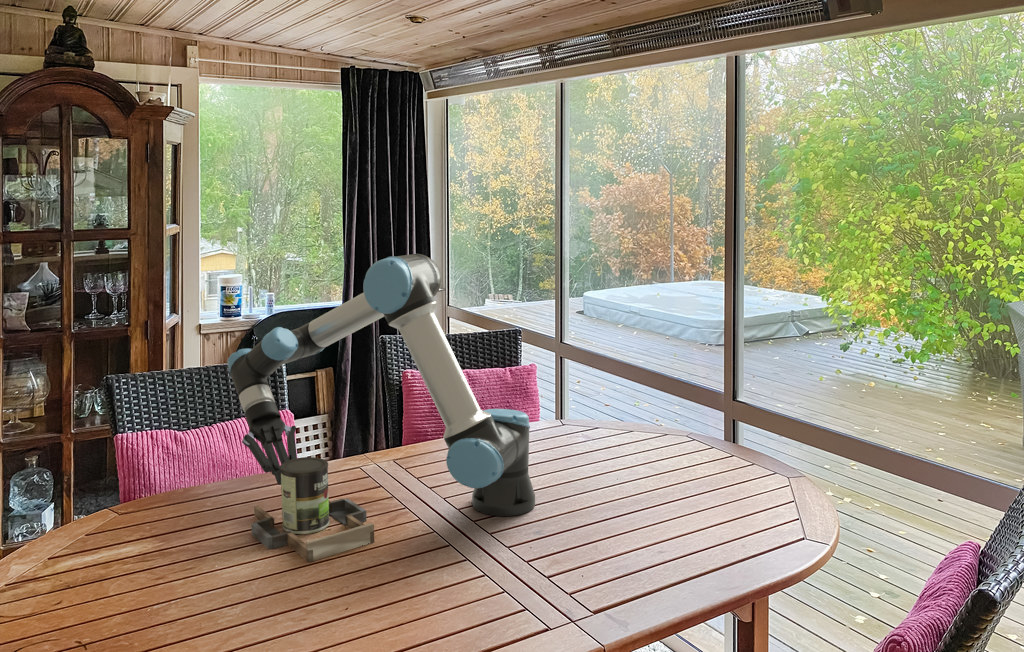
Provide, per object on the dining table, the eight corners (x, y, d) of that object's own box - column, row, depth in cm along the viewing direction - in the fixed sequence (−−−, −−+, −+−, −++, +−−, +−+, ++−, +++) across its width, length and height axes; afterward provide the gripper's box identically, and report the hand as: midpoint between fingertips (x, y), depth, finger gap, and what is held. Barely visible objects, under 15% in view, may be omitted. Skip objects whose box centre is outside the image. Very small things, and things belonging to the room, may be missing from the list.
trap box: (237, 521, 175) (236, 504, 174) (330, 497, 189) (330, 481, 189) (289, 568, 154) (289, 549, 153) (390, 536, 168) (390, 519, 168)
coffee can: (337, 517, 178) (335, 458, 175) (317, 536, 168) (315, 474, 165) (295, 513, 180) (293, 455, 177) (273, 532, 170) (271, 470, 167)
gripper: (281, 411, 194) (313, 495, 184) (229, 420, 185) (259, 509, 176) (289, 395, 189) (322, 481, 179) (236, 404, 180) (267, 494, 171)
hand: (291, 494), depth 177 cm, fingers closed
